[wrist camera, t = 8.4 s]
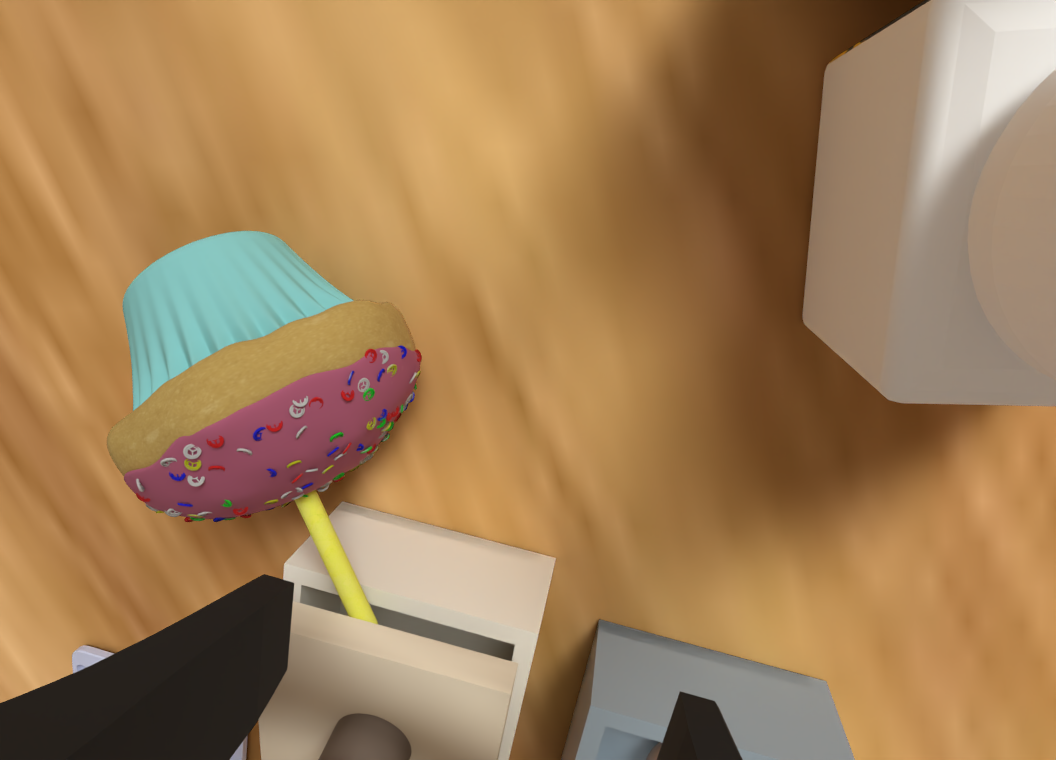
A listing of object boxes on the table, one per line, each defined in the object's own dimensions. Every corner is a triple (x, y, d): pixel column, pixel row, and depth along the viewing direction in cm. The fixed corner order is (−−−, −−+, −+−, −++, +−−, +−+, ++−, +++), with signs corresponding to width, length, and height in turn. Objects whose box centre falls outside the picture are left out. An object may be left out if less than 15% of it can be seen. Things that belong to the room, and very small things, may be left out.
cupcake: (280, 320, 25) (439, 594, 24) (16, 384, 18) (218, 765, 17) (385, 174, 19) (599, 523, 18) (58, 191, 13) (362, 737, 12)
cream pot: (515, 729, 25) (492, 826, 21) (324, 672, 26) (270, 756, 22) (556, 558, 22) (538, 634, 19) (342, 501, 23) (284, 563, 20)
